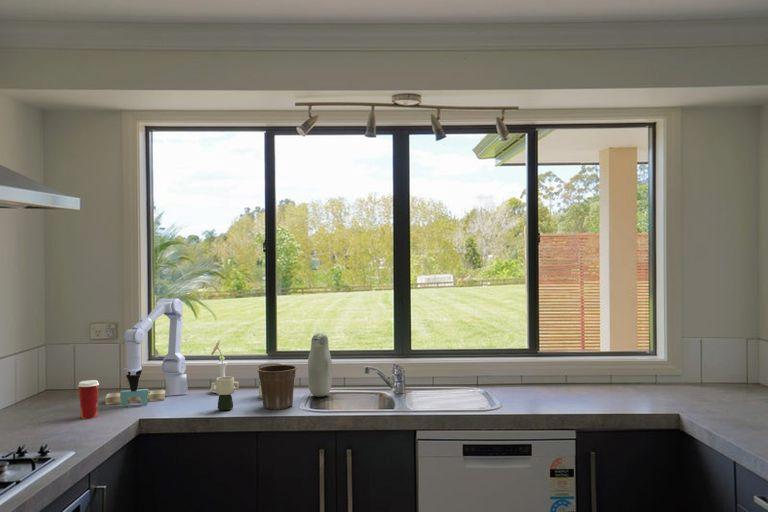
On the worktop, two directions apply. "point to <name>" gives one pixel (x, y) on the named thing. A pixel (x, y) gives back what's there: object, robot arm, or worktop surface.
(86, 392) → the paper cup
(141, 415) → the worktop surface
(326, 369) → the white tall rounded figure
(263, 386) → the plant pot
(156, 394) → the tan segmented bar
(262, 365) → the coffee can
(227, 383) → the character mug
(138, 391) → the staple
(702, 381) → the worktop surface
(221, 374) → the flower in vase
